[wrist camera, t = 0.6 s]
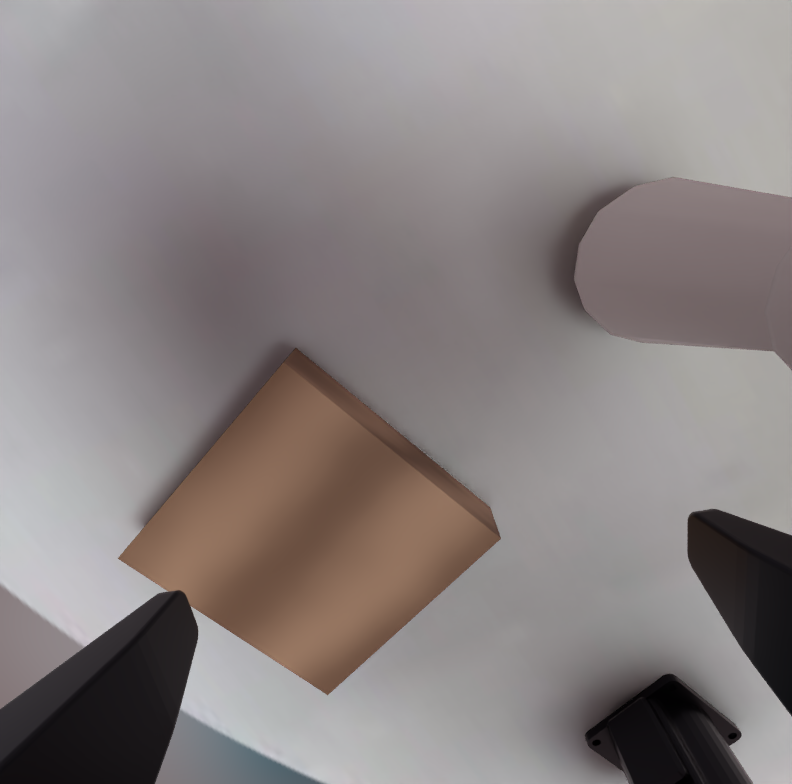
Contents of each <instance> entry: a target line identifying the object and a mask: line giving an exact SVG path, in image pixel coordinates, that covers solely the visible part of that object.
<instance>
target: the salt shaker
mask: <svg viewBox="0 0 792 784" xmlns="http://www.w3.org/2000/svg"><path fill="white" fill-rule="evenodd" d="M574 281H575V284H576V287H577V290H578V293H579V295H580V298H581V301H582V304H583V307H584V310H585V311H586V312H588V313H589V314H590V315H591V316H592V317H593V318H594V319H595V320H596V321H597V322H598V323H599V324H600V325H601V326H602V327H603V328H604V329H605V330H606V331H607V332H608V333H609V334H611V335H614V336H618V337H622V338H626V339H630V340H634V341H638V342H642V343H655V344H670V345H685V346H701V347H716V348H731V349H747V350H762V351H774V352H775V353H776V354H777V355H778V356H779V357H780V358H781V359H782V360H783V361H784V362H785V363H786V365H787V366H788V367H789V368H790V369H791V370H792V198H791V197H785V196H779V195H774V194H768V193H762V192H756V191H751V190H745V189H739V188H734V187H728V186H722V185H716V184H711V183H705V182H699V181H693V180H688V179H682V178H676V177H671V178H666V179H662V180H658V181H654V182H649V183H645V184H641V185H637V186H634V187H633V188H631V189H629V190H628V191H626V192H625V193H624V194H622V195H621V196H619V197H618V198H616V199H615V200H614V201H612V202H611V203H609V204H608V205H606V206H605V207H604V208H602V209H601V210H599V211H598V212H597V214H596V216H595V217H594V219H593V221H592V223H591V224H590V226H589V228H588V230H587V231H586V233H585V235H584V237H583V238H582V240H581V242H580V243H579V248H578V254H577V261H576V267H575V274H574Z"/></svg>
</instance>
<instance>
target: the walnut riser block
mask: <svg viewBox="0 0 792 784" xmlns="http://www.w3.org/2000/svg"><path fill="white" fill-rule="evenodd" d="M500 539H501V537H500V534H499V531H498V529H497V526H496V523H495V520H494V517H493V514H492V511H491V509H490V507H489V506H488V505H486V504H485V503H484V502H483V501H481V500H480V499H479V498H478V497H477V496H475V495H474V494H473V493H472V492H471V491H469V490H468V489H467V488H466V487H464V486H463V485H462V484H461V483H460V482H458V481H457V480H456V479H455V478H454V477H452V476H451V475H450V474H449V473H447V472H446V471H445V470H444V469H443V468H441V467H440V466H439V465H438V464H437V463H435V462H434V461H433V460H432V459H430V458H429V457H428V456H427V455H426V454H424V453H423V452H422V451H421V450H419V449H418V448H417V447H416V446H415V445H413V444H412V443H411V442H410V441H409V440H407V439H406V438H405V437H404V436H402V435H401V434H400V433H399V432H398V431H396V430H395V429H394V428H393V427H392V426H390V425H389V424H388V423H387V422H385V421H384V420H383V419H382V418H381V417H379V416H378V415H377V414H376V413H374V412H373V411H372V410H371V409H370V408H368V407H367V406H366V405H365V404H364V403H362V402H361V401H360V400H359V399H357V398H356V397H355V396H354V395H353V394H351V393H350V392H349V391H348V390H347V389H345V388H344V387H343V386H342V385H340V384H339V383H338V382H337V381H336V380H334V379H333V378H332V377H331V376H329V375H328V374H327V373H326V372H325V371H323V370H322V369H321V368H320V367H319V366H317V365H316V364H315V363H314V362H312V361H311V360H310V359H309V358H308V357H306V356H305V355H304V354H303V353H302V352H300V351H299V350H298V349H297V348H295V349H294V351H293V352H292V353H291V354H290V355H289V356H288V358H287V359H286V360H285V361H284V362H283V363H282V365H281V366H280V367H279V368H278V369H277V371H276V372H275V373H274V374H273V375H272V376H271V378H270V379H269V380H268V381H267V382H266V384H265V385H264V386H263V387H262V388H261V389H260V391H259V392H258V393H257V394H256V395H255V397H254V398H253V399H252V400H251V401H250V403H249V404H248V405H247V406H246V407H245V408H244V410H243V411H242V412H241V413H240V414H239V416H238V417H237V418H236V419H235V420H234V421H233V423H232V424H231V425H230V426H229V427H228V429H227V430H226V431H225V432H224V433H223V434H222V436H221V437H220V438H219V439H218V440H217V442H216V443H215V444H214V445H213V446H212V448H211V449H210V450H209V451H208V452H207V453H206V455H205V456H204V457H203V458H202V459H201V461H200V462H199V463H198V464H197V465H196V466H195V468H194V469H193V470H192V471H191V472H190V474H189V475H188V476H187V477H186V478H185V480H184V481H183V482H182V483H181V484H180V485H179V487H178V488H177V489H176V490H175V491H174V493H173V494H172V495H171V496H170V497H169V498H168V500H167V501H166V502H165V503H164V504H163V506H162V507H161V508H160V509H159V510H158V511H157V513H156V514H155V515H154V516H153V517H152V519H151V520H150V521H149V522H148V523H147V525H146V526H145V527H144V528H143V529H142V530H141V532H140V533H139V534H138V535H137V536H136V538H135V539H134V540H133V541H132V542H131V543H130V545H129V546H128V547H127V548H126V549H125V551H124V552H123V553H122V554H121V555H120V557H119V558H118V559H119V560H121V561H122V562H124V563H126V564H127V565H129V566H130V567H132V568H133V569H135V570H136V571H138V572H139V573H141V574H142V575H144V576H146V577H147V578H149V579H150V580H152V581H153V582H155V583H156V584H158V585H159V586H161V587H162V588H164V589H166V590H167V591H176V590H180V591H183V592H184V593H185V594H186V596H187V599H188V601H189V604H190V606H192V607H193V608H195V609H196V610H198V611H199V612H201V613H202V614H204V615H205V616H207V617H209V618H210V619H212V620H213V621H215V622H216V623H218V624H219V625H221V626H222V627H224V628H225V629H227V630H229V631H230V632H232V633H233V634H235V635H236V636H238V637H239V638H241V639H242V640H244V641H245V642H247V643H249V644H250V645H252V646H253V647H255V648H256V649H258V650H259V651H261V652H262V653H264V654H265V655H267V656H269V657H270V658H272V659H273V660H275V661H276V662H278V663H279V664H281V665H282V666H284V667H285V668H287V669H289V670H290V671H292V672H293V673H295V674H296V675H298V676H299V677H301V678H302V679H304V680H305V681H307V682H309V683H310V684H312V685H313V686H315V687H316V688H318V689H319V690H321V691H322V692H324V693H325V694H327V695H328V694H329V693H330V692H332V691H333V690H334V689H335V688H336V687H337V686H338V685H339V684H340V683H342V682H343V681H344V680H345V679H346V678H347V677H348V676H349V675H350V674H352V673H353V672H354V671H355V670H356V669H357V668H358V667H359V666H360V665H361V664H363V663H364V662H365V661H366V660H367V659H368V658H369V657H370V656H371V655H373V654H374V653H375V652H376V651H377V650H378V649H379V648H380V647H381V646H383V645H384V644H385V643H386V642H387V641H388V640H389V639H390V638H391V637H392V636H394V635H395V634H396V633H397V632H398V631H399V630H400V629H401V628H402V627H404V626H405V625H406V624H407V623H408V622H409V621H410V620H411V619H412V618H413V617H415V616H416V615H417V614H418V613H419V612H420V611H421V610H422V609H423V608H425V607H426V606H427V605H428V604H429V603H430V602H431V601H432V600H433V599H435V598H436V597H437V596H438V595H439V594H440V593H441V592H442V591H443V590H444V589H446V588H447V587H448V586H449V585H450V584H451V583H452V582H453V581H454V580H456V579H457V578H458V577H459V576H460V575H461V574H462V573H463V572H464V571H466V570H467V569H468V568H469V567H470V566H471V565H472V564H473V563H474V562H475V561H477V560H478V559H479V558H480V557H481V556H482V555H483V554H484V553H485V552H487V551H488V550H489V549H490V548H491V547H492V546H493V545H494V544H495V543H496V542H498V541H499V540H500Z"/></svg>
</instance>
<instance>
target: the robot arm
mask: <svg viewBox="0 0 792 784" xmlns="http://www.w3.org/2000/svg"><path fill="white" fill-rule="evenodd" d="M688 558H689V561H690V564H691V566H692V568H693V570H694V572H695V573H696V575H697V576H698V578H699V580H700V581H701V583H702V585H703V586H704V588H705V590H706V591H707V593H708V595H709V596H710V598H711V600H712V601H713V603H714V604H715V606H716V608H717V609H718V611H719V613H720V614H721V616H722V618H723V619H724V621H725V623H726V624H727V626H728V628H729V629H730V631H731V632H732V634H733V636H734V637H735V639H736V640H737V642H738V644H739V645H740V647H741V648H742V650H743V651H744V653H745V654H746V655H747V657H748V658H749V660H750V661H751V662H752V664H753V665H754V666H755V668H756V669H757V670H758V672H759V673H760V674H761V676H762V677H763V678H764V680H765V681H766V682H767V684H768V685H769V686H770V688H771V689H772V691H773V692H774V693H775V695H776V696H777V697H778V699H779V700H780V701H781V703H782V704H783V705H784V707H785V708H786V709H787V711H788V712H789V713H790V715H791V716H792V535H789V534H786V533H783V532H780V531H778V530H775V529H772V528H769V527H766V526H763V525H760V524H758V523H755V522H752V521H749V520H746V519H743V518H740V517H738V516H735V515H732V514H729V513H726V512H723V511H720V510H717V509H709V510H703V511H696V512H692V513H691V514H690V515H689V517H688ZM197 640H198V626H197V623H196V620H195V618H194V615H193V612H192V609H191V607H190V604H189V601H188V599H187V596H186V594H185V593H184V592H183V591H180V590H176V591H169V592H163V593H159V594H157V595H156V596H154V597H153V598H151V599H150V600H149V601H147V602H146V603H145V604H143V605H142V606H140V607H139V608H138V609H136V610H135V611H134V612H132V613H131V614H130V615H128V616H127V617H125V618H124V619H123V620H121V621H120V622H119V623H117V624H116V625H115V626H113V627H112V628H110V629H109V630H108V631H106V632H105V633H104V634H102V635H101V636H100V637H98V638H97V639H95V640H94V641H93V642H91V643H90V644H89V645H87V646H86V647H84V648H83V649H82V650H80V651H79V652H78V653H76V654H75V655H74V656H72V657H71V658H69V659H68V660H67V661H65V662H64V663H63V664H61V665H60V666H59V667H57V668H56V669H54V670H53V671H52V672H51V673H49V674H48V675H46V676H45V677H44V678H42V679H41V680H40V681H38V682H37V683H35V684H34V685H33V686H31V687H30V688H29V689H27V690H26V691H24V692H23V693H22V694H21V695H19V696H18V697H16V698H15V699H14V700H12V701H11V702H9V703H8V704H7V705H5V706H4V707H3V708H1V709H0V784H155V782H156V779H157V776H158V773H159V771H160V768H161V765H162V762H163V760H164V757H165V754H166V751H167V748H168V746H169V743H170V740H171V737H172V734H173V730H174V728H175V724H176V721H177V717H178V714H179V710H180V706H181V703H182V699H183V695H184V691H185V687H186V683H187V679H188V675H189V671H190V668H191V664H192V660H193V656H194V652H195V648H196V644H197ZM585 738H586V741H587V744H588V746H589V747H590V748H591V749H593V750H594V751H596V752H597V753H598V754H600V755H601V756H603V757H604V758H605V759H607V760H608V761H610V762H611V763H612V764H614V765H615V766H616V767H618V768H619V769H621V770H622V771H623V772H624V773H625V775H626V777H627V780H628V782H629V784H753V782H752V781H751V779H750V778H749V776H748V775H747V773H746V772H745V770H744V768H743V767H742V765H741V764H740V762H739V761H738V759H737V758H736V756H735V755H734V753H733V752H732V750H731V749H730V747H729V746H730V745H732V744H733V743H735V742H736V741H737V740H739V739H740V738H741V732H740V731H739V729H738V728H737V726H736V725H735V724H734V723H733V722H732V721H730V720H729V719H728V718H727V717H725V716H724V715H723V714H722V713H720V712H719V711H718V710H717V709H715V708H714V707H713V706H712V705H710V704H709V703H708V702H707V701H706V700H704V699H703V698H702V697H701V696H699V695H698V694H697V693H696V692H694V691H693V690H692V689H691V688H689V687H688V686H687V685H686V684H684V683H683V682H682V681H681V680H680V679H678V678H677V677H676V676H674V675H670V674H669V675H665V676H663V677H662V678H660V679H659V680H658V681H656V682H655V683H653V684H652V685H651V686H649V687H648V688H647V689H645V690H644V691H643V692H641V693H640V694H639V695H637V696H636V697H634V698H633V699H632V700H630V701H629V702H628V703H626V704H625V705H624V706H622V707H621V708H620V709H618V710H617V711H616V712H614V713H613V714H611V715H610V716H609V717H607V718H606V719H605V720H603V721H602V722H601V723H599V724H598V725H597V726H595V727H594V728H592V729H591V730H590V731H588V732H587V733H586V735H585Z"/></svg>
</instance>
